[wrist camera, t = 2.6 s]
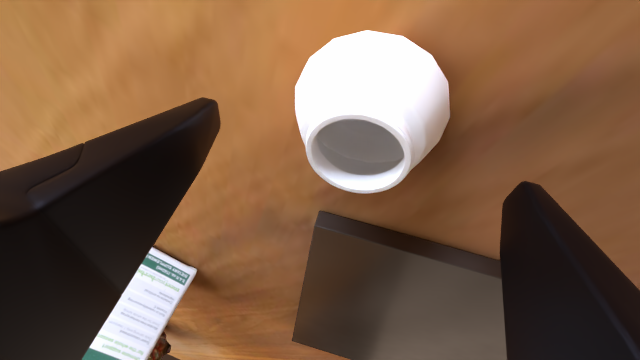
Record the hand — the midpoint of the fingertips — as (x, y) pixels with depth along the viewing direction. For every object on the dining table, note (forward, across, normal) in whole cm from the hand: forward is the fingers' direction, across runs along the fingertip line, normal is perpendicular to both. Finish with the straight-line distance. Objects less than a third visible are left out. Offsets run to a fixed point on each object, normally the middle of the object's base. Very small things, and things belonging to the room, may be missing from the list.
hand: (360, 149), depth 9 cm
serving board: (+3, -7, +18) cm, 19 cm away
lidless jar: (+3, 0, 0) cm, 3 cm away
